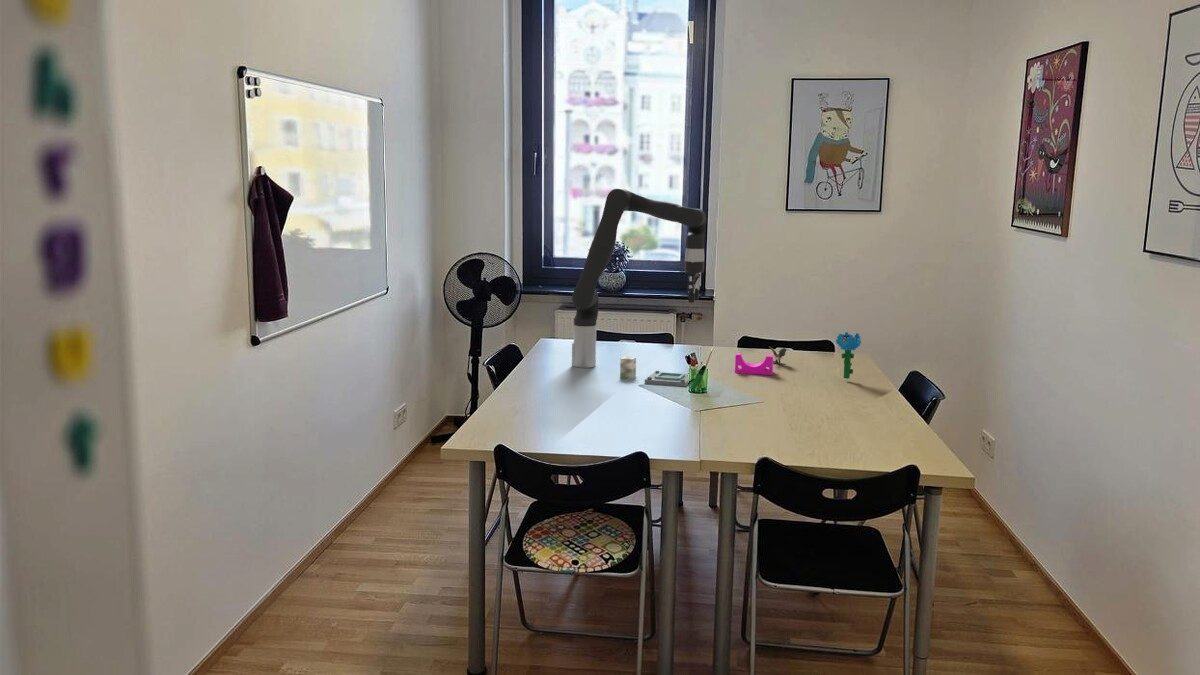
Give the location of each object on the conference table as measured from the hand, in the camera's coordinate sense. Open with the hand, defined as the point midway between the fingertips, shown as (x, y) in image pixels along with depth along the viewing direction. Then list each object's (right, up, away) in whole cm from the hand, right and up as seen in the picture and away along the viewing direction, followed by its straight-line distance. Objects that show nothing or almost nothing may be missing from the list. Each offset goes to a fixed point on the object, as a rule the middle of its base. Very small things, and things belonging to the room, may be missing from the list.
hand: (693, 301), depth 356 cm
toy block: (+27, -29, +15) cm, 42 cm away
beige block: (-26, -30, 0) cm, 40 cm away
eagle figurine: (+39, -26, +32) cm, 57 cm away
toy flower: (+62, -31, +5) cm, 69 cm away
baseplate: (-10, -31, -5) cm, 33 cm away
